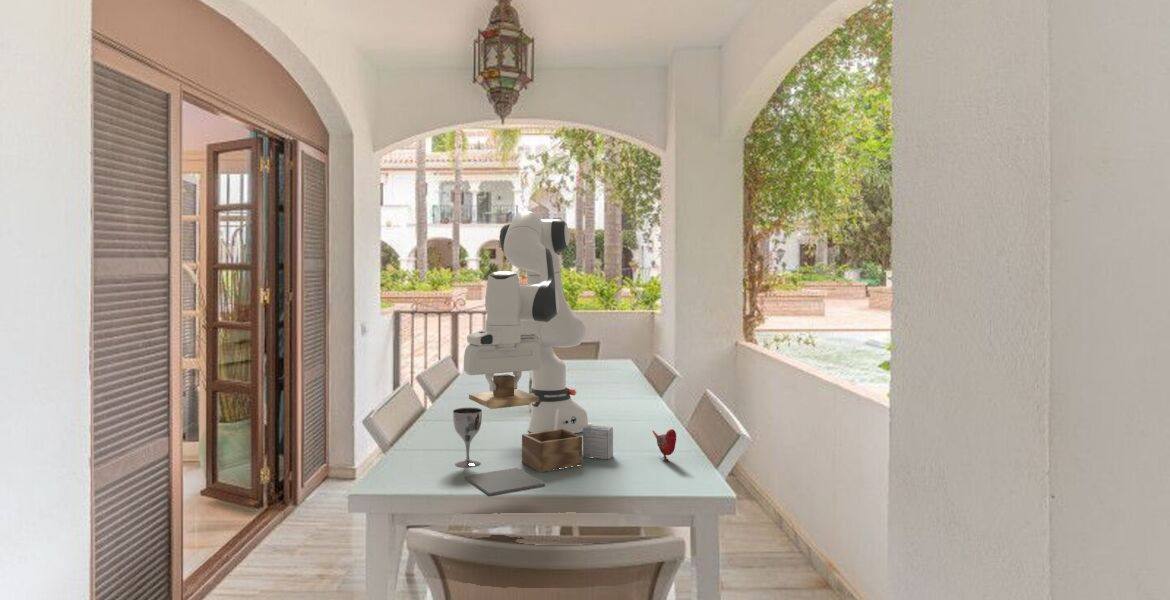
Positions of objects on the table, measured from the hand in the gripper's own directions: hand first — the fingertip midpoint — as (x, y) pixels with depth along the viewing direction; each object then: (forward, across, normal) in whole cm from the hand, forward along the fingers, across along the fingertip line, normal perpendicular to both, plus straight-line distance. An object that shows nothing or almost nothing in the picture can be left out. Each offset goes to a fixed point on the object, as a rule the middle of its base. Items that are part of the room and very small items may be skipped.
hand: (503, 390), depth 182 cm
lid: (+3, 0, 0) cm, 3 cm away
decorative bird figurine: (+24, -48, +3) cm, 54 cm away
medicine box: (+24, -33, -8) cm, 42 cm away
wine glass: (+24, +2, -20) cm, 31 cm away
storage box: (+24, -18, -8) cm, 31 cm away
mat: (+24, 0, 0) cm, 24 cm away
